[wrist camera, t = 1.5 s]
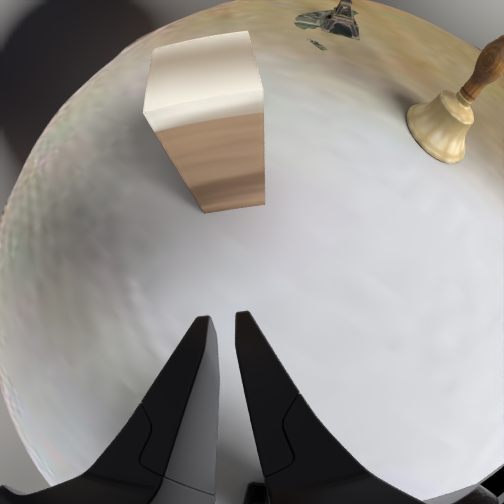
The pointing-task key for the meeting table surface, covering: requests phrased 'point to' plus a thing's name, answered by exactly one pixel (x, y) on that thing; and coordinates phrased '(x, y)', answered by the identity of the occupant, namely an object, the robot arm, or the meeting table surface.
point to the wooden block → (211, 118)
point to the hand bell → (454, 109)
